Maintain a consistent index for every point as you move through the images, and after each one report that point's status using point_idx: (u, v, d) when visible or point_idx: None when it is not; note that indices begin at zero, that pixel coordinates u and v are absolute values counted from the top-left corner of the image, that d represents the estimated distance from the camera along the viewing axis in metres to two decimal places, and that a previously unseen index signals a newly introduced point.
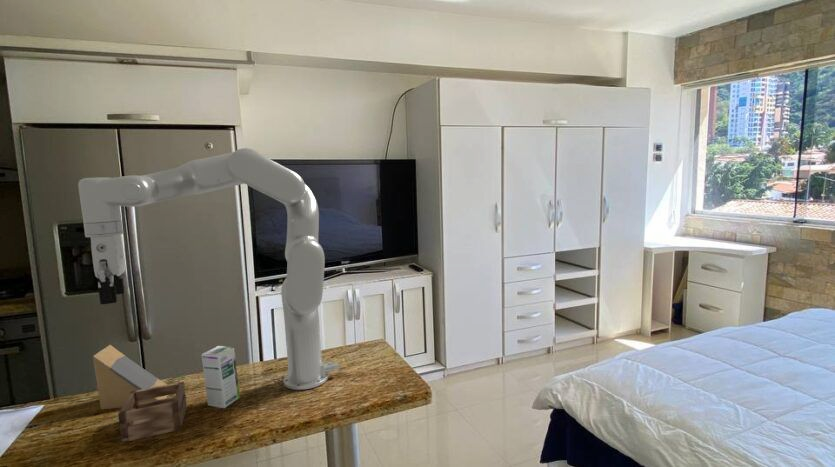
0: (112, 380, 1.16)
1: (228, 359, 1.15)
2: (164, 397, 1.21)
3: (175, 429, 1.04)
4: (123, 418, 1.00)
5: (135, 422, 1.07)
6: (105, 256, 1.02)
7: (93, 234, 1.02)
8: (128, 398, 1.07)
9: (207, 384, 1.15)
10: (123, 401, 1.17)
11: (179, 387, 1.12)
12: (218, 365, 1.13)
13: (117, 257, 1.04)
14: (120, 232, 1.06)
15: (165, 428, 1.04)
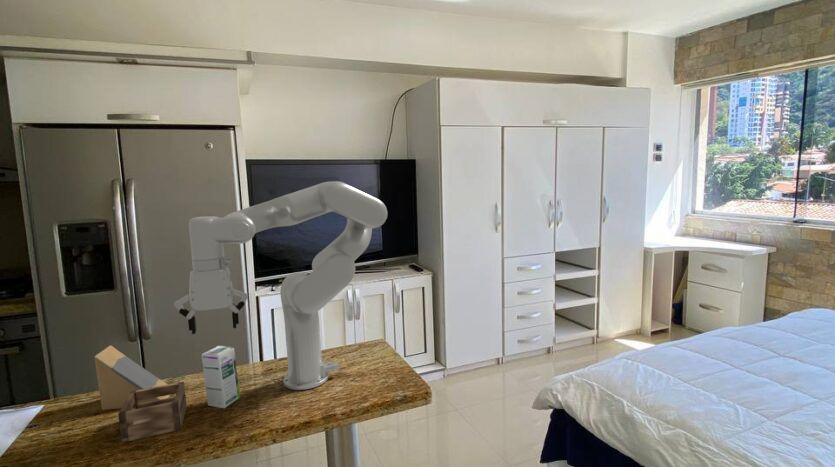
0: (113, 380, 1.16)
1: (228, 359, 1.15)
2: (166, 397, 1.21)
3: (175, 429, 1.04)
4: (123, 418, 1.00)
5: (135, 422, 1.07)
6: None
7: (223, 267, 1.13)
8: (128, 398, 1.07)
9: (207, 384, 1.15)
10: None
11: (179, 387, 1.12)
12: (218, 365, 1.13)
13: None
14: None
15: (165, 428, 1.04)
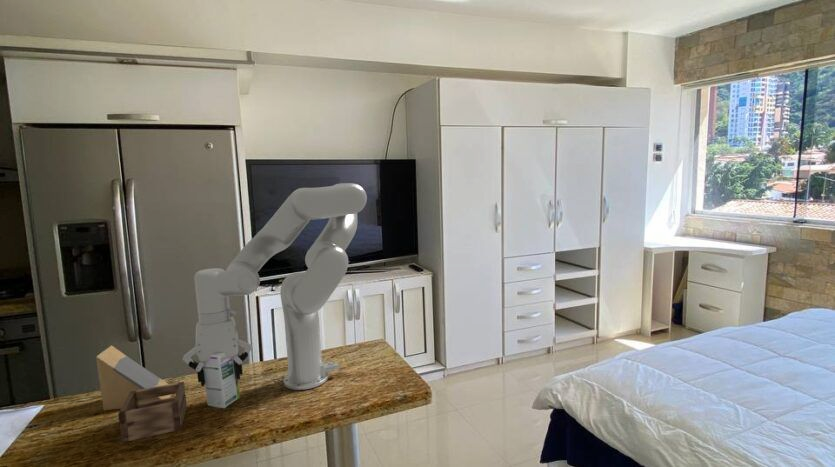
0: (115, 380, 1.15)
1: (228, 359, 1.15)
2: (168, 397, 1.21)
3: (175, 429, 1.04)
4: (123, 418, 1.00)
5: (135, 422, 1.07)
6: (237, 334, 1.18)
7: (229, 318, 1.14)
8: (128, 398, 1.07)
9: (207, 384, 1.15)
10: None
11: (179, 387, 1.12)
12: (218, 365, 1.13)
13: None
14: None
15: (165, 428, 1.04)
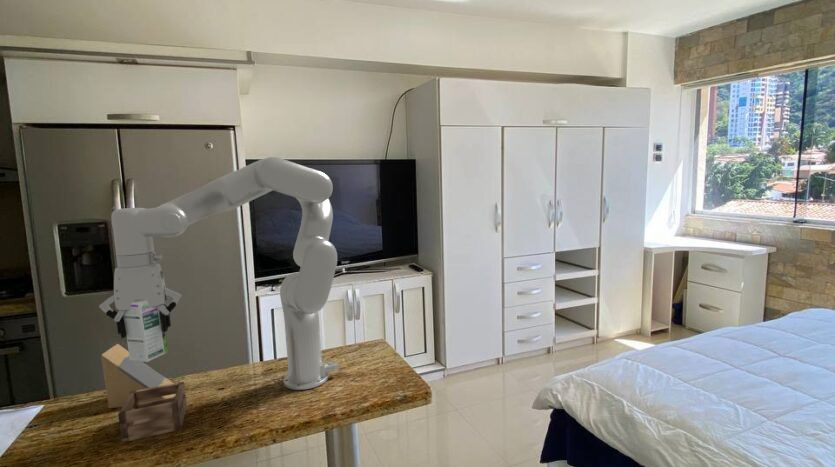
0: (119, 379, 1.16)
1: (152, 308, 1.04)
2: (171, 396, 1.21)
3: (175, 429, 1.04)
4: (123, 418, 1.00)
5: (135, 422, 1.07)
6: (164, 282, 1.06)
7: (152, 263, 1.03)
8: (128, 398, 1.07)
9: (128, 336, 1.03)
10: None
11: (179, 387, 1.12)
12: (139, 313, 1.01)
13: None
14: None
15: (165, 428, 1.04)
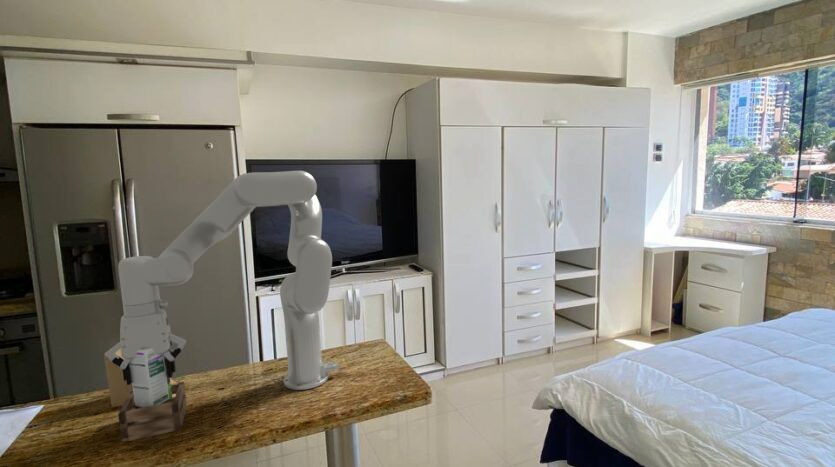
0: (122, 378, 1.17)
1: (157, 355, 1.05)
2: (173, 395, 1.22)
3: (175, 429, 1.04)
4: (123, 418, 1.00)
5: (135, 422, 1.07)
6: (169, 328, 1.08)
7: (158, 311, 1.05)
8: (128, 398, 1.07)
9: (133, 383, 1.05)
10: None
11: (179, 387, 1.12)
12: (144, 361, 1.03)
13: None
14: None
15: (165, 428, 1.04)
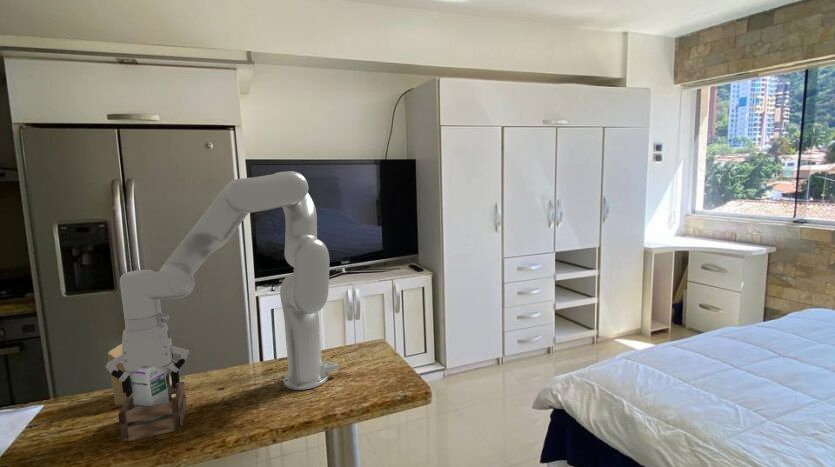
0: None
1: (159, 373, 1.06)
2: (175, 395, 1.22)
3: (175, 429, 1.04)
4: (123, 418, 1.00)
5: (135, 422, 1.07)
6: (171, 341, 1.08)
7: (160, 324, 1.05)
8: (128, 398, 1.07)
9: (135, 401, 1.05)
10: None
11: (179, 387, 1.12)
12: (146, 380, 1.03)
13: None
14: None
15: (165, 428, 1.04)
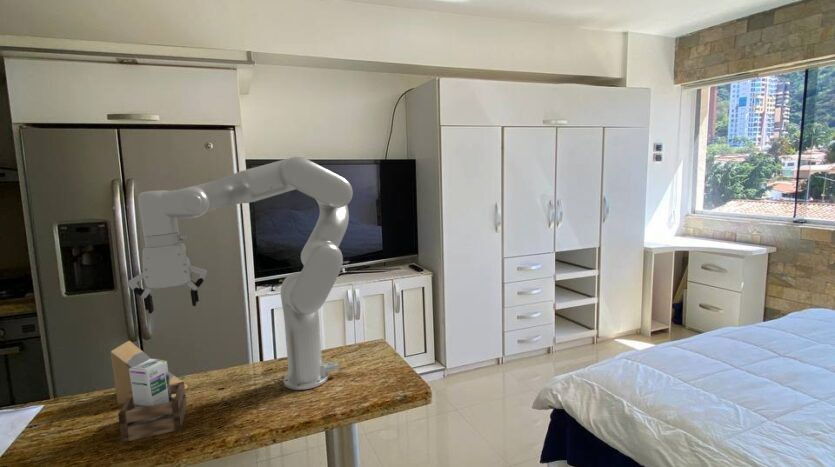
0: (128, 376, 1.18)
1: (159, 373, 1.06)
2: None
3: (175, 429, 1.04)
4: (123, 418, 1.00)
5: (135, 422, 1.07)
6: (189, 261, 1.11)
7: (178, 243, 1.08)
8: (128, 398, 1.07)
9: (135, 401, 1.05)
10: None
11: (179, 387, 1.12)
12: (146, 380, 1.03)
13: None
14: None
15: (165, 428, 1.04)
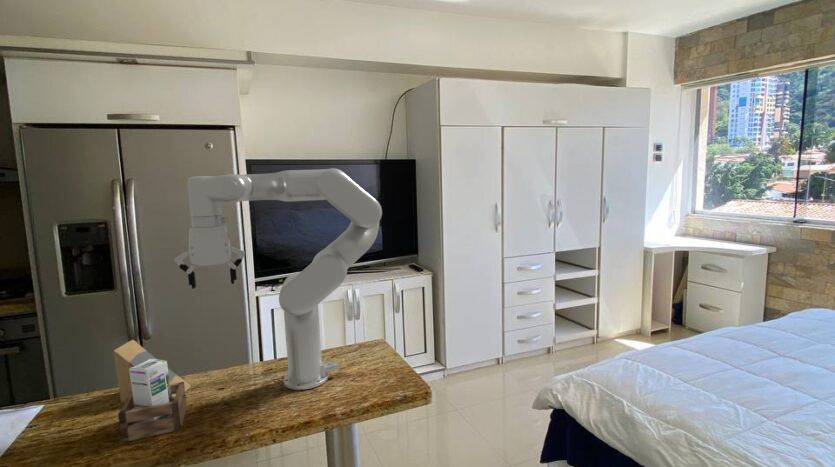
0: None
1: (159, 373, 1.06)
2: None
3: (175, 429, 1.04)
4: (123, 418, 1.00)
5: (135, 422, 1.07)
6: (229, 242, 1.21)
7: (221, 225, 1.18)
8: (128, 398, 1.07)
9: (135, 401, 1.05)
10: None
11: (179, 387, 1.12)
12: (146, 380, 1.03)
13: None
14: None
15: (165, 428, 1.04)
